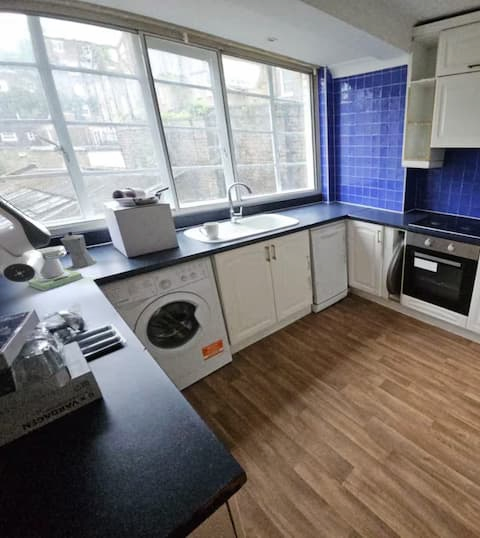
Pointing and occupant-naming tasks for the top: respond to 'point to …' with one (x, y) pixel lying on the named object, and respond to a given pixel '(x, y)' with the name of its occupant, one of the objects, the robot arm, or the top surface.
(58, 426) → the top surface
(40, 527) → the top surface
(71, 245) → the coffeepot
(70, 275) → the scale
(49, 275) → the can
